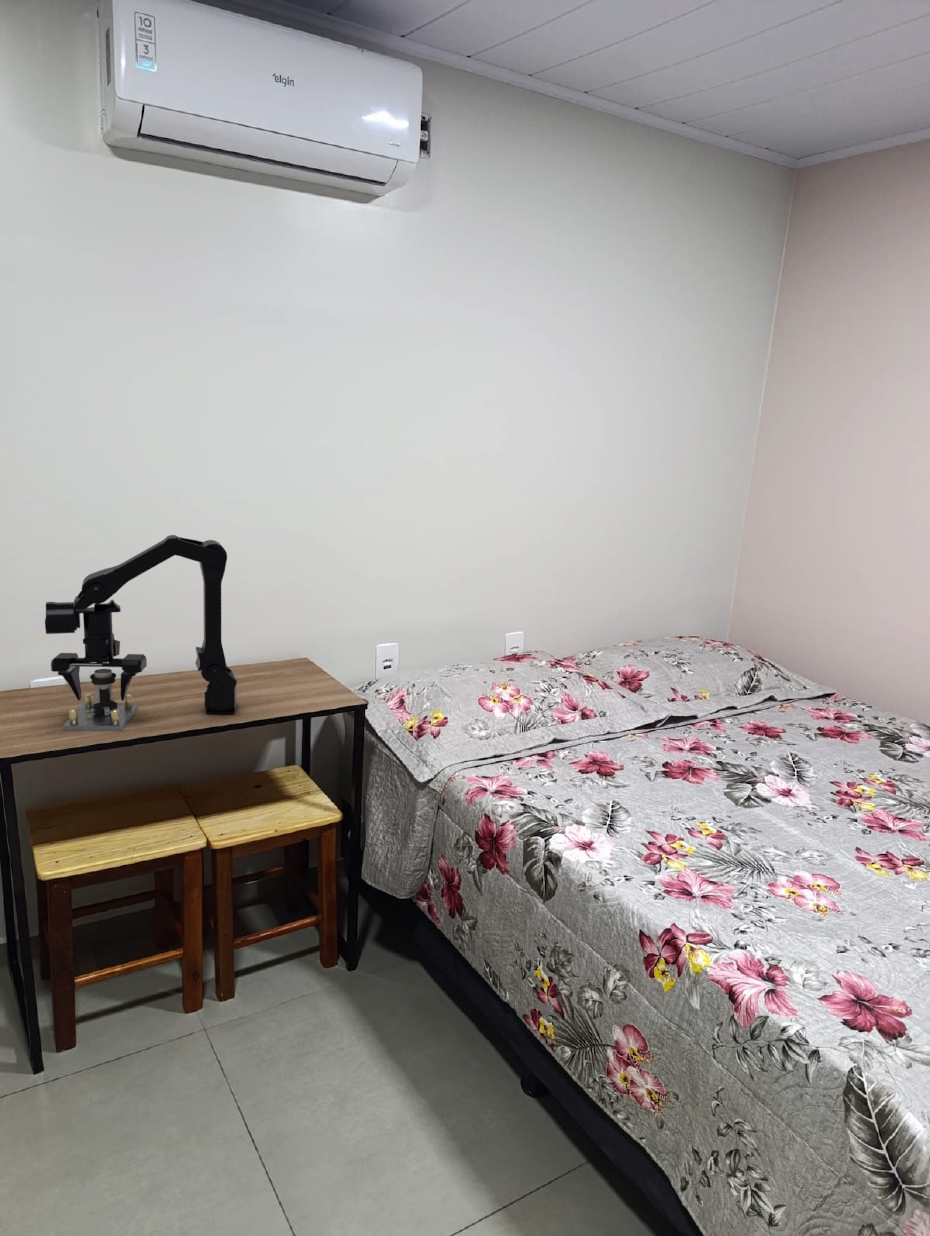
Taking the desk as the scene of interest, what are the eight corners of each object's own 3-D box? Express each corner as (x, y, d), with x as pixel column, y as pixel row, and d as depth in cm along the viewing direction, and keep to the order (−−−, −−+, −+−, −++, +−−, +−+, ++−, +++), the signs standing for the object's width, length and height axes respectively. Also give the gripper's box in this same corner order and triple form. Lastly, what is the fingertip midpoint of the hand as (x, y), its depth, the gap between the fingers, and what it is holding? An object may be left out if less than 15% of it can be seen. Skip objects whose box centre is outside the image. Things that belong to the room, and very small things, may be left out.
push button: (91, 720, 186) (89, 676, 184) (82, 714, 190) (79, 671, 188) (121, 714, 191) (119, 671, 189) (111, 708, 194) (110, 666, 192)
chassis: (137, 709, 198) (137, 692, 197) (121, 730, 184) (120, 712, 183) (83, 708, 196) (82, 691, 196) (63, 730, 183) (62, 712, 182)
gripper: (151, 624, 195) (153, 689, 198) (65, 622, 193) (69, 688, 196) (139, 636, 184) (141, 704, 188) (48, 634, 182) (52, 704, 185)
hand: (101, 699), depth 189 cm, fingers open, 9 cm apart
